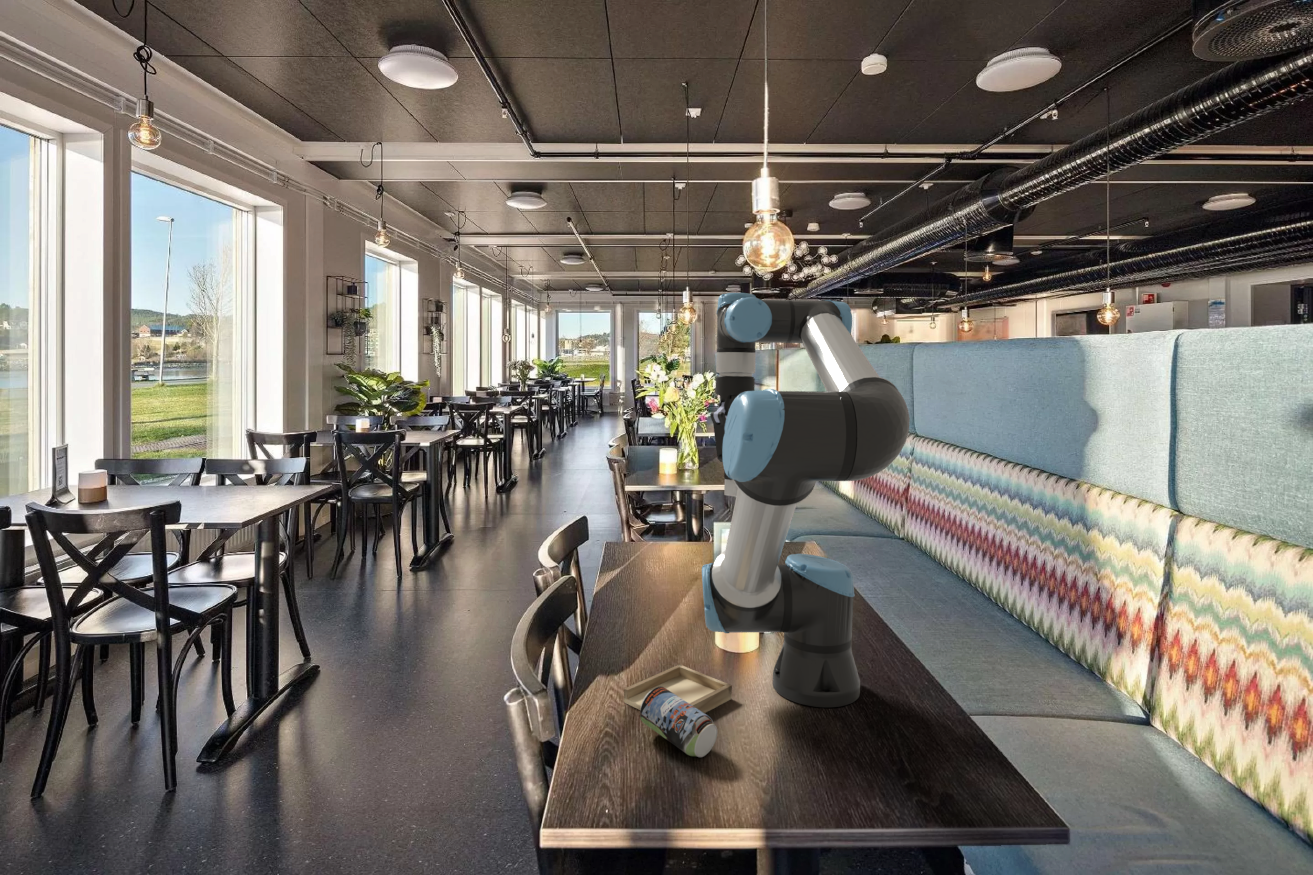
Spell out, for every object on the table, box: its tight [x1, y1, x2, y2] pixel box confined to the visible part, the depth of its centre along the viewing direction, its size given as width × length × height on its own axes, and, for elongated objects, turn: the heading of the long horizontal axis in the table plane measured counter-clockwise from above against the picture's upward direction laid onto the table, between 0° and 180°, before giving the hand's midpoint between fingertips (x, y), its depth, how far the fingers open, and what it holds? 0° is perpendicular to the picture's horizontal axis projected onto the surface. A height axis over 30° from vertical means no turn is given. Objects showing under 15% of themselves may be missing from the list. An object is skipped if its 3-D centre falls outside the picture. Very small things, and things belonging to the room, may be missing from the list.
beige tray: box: [623, 664, 733, 714], centre depth 117 cm, size 12×14×2 cm
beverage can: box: [639, 687, 718, 758], centre depth 103 cm, size 6×7×12 cm
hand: (732, 495), depth 135 cm, fingers closed
